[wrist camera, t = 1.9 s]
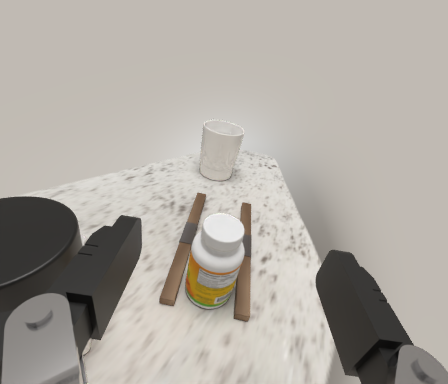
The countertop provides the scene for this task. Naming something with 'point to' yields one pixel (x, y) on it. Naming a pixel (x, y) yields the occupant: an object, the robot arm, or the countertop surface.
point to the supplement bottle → (215, 261)
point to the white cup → (219, 149)
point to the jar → (34, 247)
